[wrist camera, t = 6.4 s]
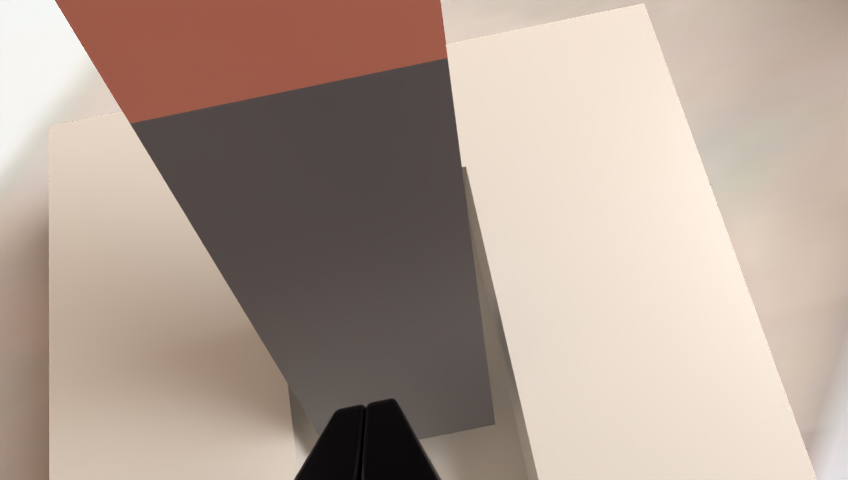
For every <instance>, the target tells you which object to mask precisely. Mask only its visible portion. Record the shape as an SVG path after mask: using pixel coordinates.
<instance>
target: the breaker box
mask: <svg viewBox="0 0 848 480" xmlns="http://www.w3.org/2000/svg"><path fill="white" fill-rule="evenodd" d="M446 49H447V57H448V64H449V72H450V80H451V87H452V95H453V103H454V110H455V118H456V126H457V133H458V141H459V149H460V156H461V164H462V172H463V180H464V187H465V195H466V203H467V210H468V218H469V226H470V233H471V241H472V249H473V256H474V264H475V272H476V279H477V287H478V295H479V303H480V310H481V318H482V326H483V333H484V341H485V349H486V356H487V364H488V372H489V379H490V387H491V395H492V402H493V410H494V418H495V425H490V426H485V427H480V428H475V429H470V430H465V431H460V432H455V433H450V434H445V435H440V436H435V437H430V438H425V439H420V440H419V441H420V442H421V444H422V446H423V448H424V449H425V451H426V453H427V455H428V457H429V458H430V460H431V462H432V464H433V465H434V467H435V469H436V471H437V472H438V474H439V476H440V478H441V480H817V478H816V476H815V473H814V470H813V467H812V465H811V462H810V459H809V456H808V454H807V451H806V448H805V445H804V443H803V440H802V437H801V434H800V431H799V429H798V426H797V423H796V420H795V418H794V415H793V412H792V409H791V407H790V404H789V401H788V398H787V396H786V393H785V390H784V387H783V385H782V382H781V379H780V376H779V374H778V371H777V368H776V365H775V363H774V360H773V357H772V354H771V352H770V349H769V346H768V343H767V340H766V338H765V335H764V332H763V329H762V327H761V324H760V321H759V318H758V316H757V313H756V310H755V307H754V305H753V302H752V299H751V296H750V294H749V291H748V288H747V285H746V283H745V280H744V277H743V274H742V272H741V269H740V266H739V263H738V260H737V258H736V255H735V252H734V249H733V247H732V244H731V241H730V238H729V236H728V233H727V230H726V227H725V225H724V222H723V219H722V216H721V214H720V211H719V208H718V205H717V203H716V200H715V197H714V194H713V192H712V189H711V186H710V183H709V181H708V178H707V175H706V172H705V169H704V167H703V164H702V161H701V158H700V156H699V153H698V150H697V147H696V145H695V142H694V139H693V136H692V134H691V131H690V128H689V125H688V123H687V120H686V117H685V114H684V112H683V109H682V106H681V103H680V101H679V98H678V95H677V92H676V90H675V87H674V84H673V81H672V78H671V76H670V73H669V70H668V67H667V65H666V62H665V59H664V56H663V54H662V51H661V48H660V45H659V43H658V40H657V37H656V34H655V32H654V29H653V26H652V23H651V21H650V18H649V15H648V12H647V10H646V7H645V4H644V3H642V4H637V5H632V6H627V7H623V8H618V9H613V10H608V11H603V12H598V13H594V14H589V15H584V16H579V17H574V18H569V19H565V20H560V21H555V22H550V23H545V24H540V25H536V26H531V27H526V28H521V29H516V30H511V31H507V32H502V33H497V34H492V35H487V36H482V37H478V38H473V39H468V40H463V41H458V42H453V43H449V44H446ZM319 437H320V436H319V434H318V432H317V431H316V429H315V427H314V426H313V424H312V422H311V421H310V419H309V418H308V416H307V414H306V413H305V411H304V409H303V408H302V406H301V404H300V403H299V401H298V399H297V398H296V396H295V394H294V393H293V391H292V390H291V388H290V386H289V385H288V383H287V381H286V380H285V378H284V376H283V375H282V373H281V371H280V370H279V368H278V367H277V365H276V363H275V362H274V360H273V358H272V357H271V355H270V353H269V352H268V350H267V348H266V347H265V345H264V343H263V342H262V340H261V339H260V337H259V335H258V334H257V332H256V330H255V329H254V327H253V325H252V324H251V322H250V320H249V319H248V317H247V315H246V314H245V312H244V311H243V309H242V307H241V306H240V304H239V302H238V301H237V299H236V297H235V296H234V294H233V292H232V291H231V289H230V287H229V286H228V284H227V283H226V281H225V279H224V278H223V276H222V274H221V273H220V271H219V269H218V268H217V266H216V264H215V263H214V261H213V260H212V258H211V256H210V255H209V253H208V251H207V250H206V248H205V246H204V245H203V243H202V241H201V240H200V238H199V236H198V235H197V233H196V232H195V230H194V228H193V227H192V225H191V223H190V222H189V220H188V218H187V217H186V215H185V213H184V212H183V210H182V208H181V207H180V205H179V204H178V202H177V200H176V199H175V197H174V195H173V194H172V192H171V190H170V189H169V187H168V185H167V184H166V182H165V180H164V179H163V177H162V176H161V174H160V172H159V171H158V169H157V167H156V166H155V164H154V162H153V161H152V159H151V157H150V156H149V154H148V153H147V151H146V149H145V148H144V146H143V144H142V143H141V141H140V139H139V138H138V136H137V134H136V133H135V131H134V129H133V128H132V126H131V125H130V123H129V121H128V120H127V118H126V116H125V115H124V113H123V111H120V112H115V113H110V114H106V115H101V116H96V117H91V118H86V119H81V120H77V121H72V122H67V123H62V124H57V125H52V126H49V480H294V478H295V477H296V475H297V473H298V472H299V470H300V468H301V467H302V465H303V463H304V462H305V460H306V458H307V457H308V455H309V453H310V452H311V450H312V448H313V447H314V445H315V443H316V442H317V440H318V438H319Z"/></svg>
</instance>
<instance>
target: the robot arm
mask: <svg viewBox="0 0 848 480" xmlns="http://www.w3.org/2000/svg"><path fill="white" fill-rule="evenodd" d="M294 480H441V478H440V476H439V474H438V472H437V471H436V469H435V467H434V465H433V464H432V462H431V460H430V458H429V457H428V455H427V453H426V451H425V449H424V448H423V446H422V444H421V442H420V441H419V439H418V437H417V435H416V434H415V432H414V430H413V428H412V426H411V425H410V423H409V421H408V419H407V418H406V416H405V414H404V412H403V411H402V409H401V407H400V405H399V404H398V402H397V401H396V400H395V399H393V398H390V399H385V400H380V401H375V402H371V403H369V404H368V405H367V407H365V406H364V405H355V406H350V407H345V408H341V409H338V410H336V411H335V412H334V413H333V415H332V417H331V418H330V420H329V422H328V423H327V425H326V427H325V428H324V430H323V432H322V433H321V435H320V437H319V438H318V440H317V442H316V443H315V445H314V447H313V448H312V450H311V452H310V453H309V455H308V457H307V458H306V460H305V462H304V463H303V465H302V467H301V468H300V470H299V472H298V473H297V475H296V477H295V478H294Z"/></svg>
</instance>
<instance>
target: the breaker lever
mask: <svg viewBox="0 0 848 480" xmlns="http://www.w3.org/2000/svg"><path fill="white" fill-rule="evenodd" d="M55 1H56V3H57V4H58V6H59V8H60V9H61V11H62V13H63V14H64V16H65V18H66V19H67V21H68V22H69V24H70V26H71V27H72V29H73V31H74V32H75V34H76V36H77V37H78V39H79V41H80V42H81V44H82V46H83V47H84V49H85V50H86V52H87V54H88V55H89V57H90V59H91V60H92V62H93V64H94V65H95V67H96V69H97V70H98V72H99V73H100V75H101V77H102V78H103V80H104V82H105V83H106V85H107V87H108V88H109V90H110V92H111V93H112V95H113V97H114V98H115V100H116V101H117V103H118V105H119V106H120V108H121V110H122V111H123V113H124V115H125V116H126V118H127V120H128V121H129V123H130V125H131V126H132V128H133V129H134V131H135V133H136V134H137V136H138V138H139V139H140V141H141V143H142V144H143V146H144V148H145V149H146V151H147V153H148V154H149V156H150V157H151V159H152V161H153V162H154V164H155V166H156V167H157V169H158V171H159V172H160V174H161V176H162V177H163V179H164V180H165V182H166V184H167V185H168V187H169V189H170V190H171V192H172V194H173V195H174V197H175V199H176V200H177V202H178V204H179V205H180V207H181V208H182V210H183V212H184V213H185V215H186V217H187V218H188V220H189V222H190V223H191V225H192V227H193V228H194V230H195V232H196V233H197V235H198V236H199V238H200V240H201V241H202V243H203V245H204V246H205V248H206V250H207V251H208V253H209V255H210V256H211V258H212V260H213V261H214V263H215V264H216V266H217V268H218V269H219V271H220V273H221V274H222V276H223V278H224V279H225V281H226V283H227V284H228V286H229V287H230V289H231V291H232V292H233V294H234V296H235V297H236V299H237V301H238V302H239V304H240V306H241V307H242V309H243V311H244V312H245V314H246V315H247V317H248V319H249V320H250V322H251V324H252V325H253V327H254V329H255V330H256V332H257V334H258V335H259V337H260V339H261V340H262V342H263V343H264V345H265V347H266V348H267V350H268V352H269V353H270V355H271V357H272V358H273V360H274V362H275V363H276V365H277V367H278V368H279V370H280V371H281V373H282V375H283V376H284V378H285V380H286V381H287V383H288V385H289V386H290V388H291V390H292V391H293V393H294V394H295V396H296V398H297V399H298V401H299V403H300V404H301V406H302V408H303V409H304V411H305V413H306V414H307V416H308V418H309V419H310V421H311V422H312V424H313V426H314V427H315V429H316V431H317V432H318V434H319V436H320V435H321V433H322V432H323V430H324V428H325V427H326V425H327V423H328V422H329V420H330V418H331V417H332V415H333V413H334V412H335V411H336V410H338V409H341V408H345V407H350V406H355V405H364V406H365V407H367V405H368V404H369V403H371V402H375V401H380V400H385V399H390V398H393V399H395V400H396V401H397V402H398V404H399V405H400V407H401V409H402V411H403V412H404V414H405V416H406V418H407V419H408V421H409V423H410V425H411V426H412V428H413V430H414V432H415V434H416V435H417V437H418V439H419V440H420V439H425V438H430V437H435V436H440V435H445V434H450V433H455V432H460V431H465V430H470V429H475V428H480V427H485V426H490V425H495V418H494V410H493V402H492V395H491V387H490V379H489V372H488V364H487V356H486V349H485V341H484V333H483V326H482V318H481V310H480V303H479V295H478V287H477V279H476V272H475V264H474V256H473V249H472V241H471V233H470V226H469V218H468V210H467V203H466V195H465V187H464V180H463V172H462V164H461V156H460V149H459V141H458V133H457V126H456V118H455V110H454V103H453V95H452V87H451V80H450V72H449V64H448V57H447V49H446V41H445V34H444V26H443V18H442V10H441V3H440V0H55Z"/></svg>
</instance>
